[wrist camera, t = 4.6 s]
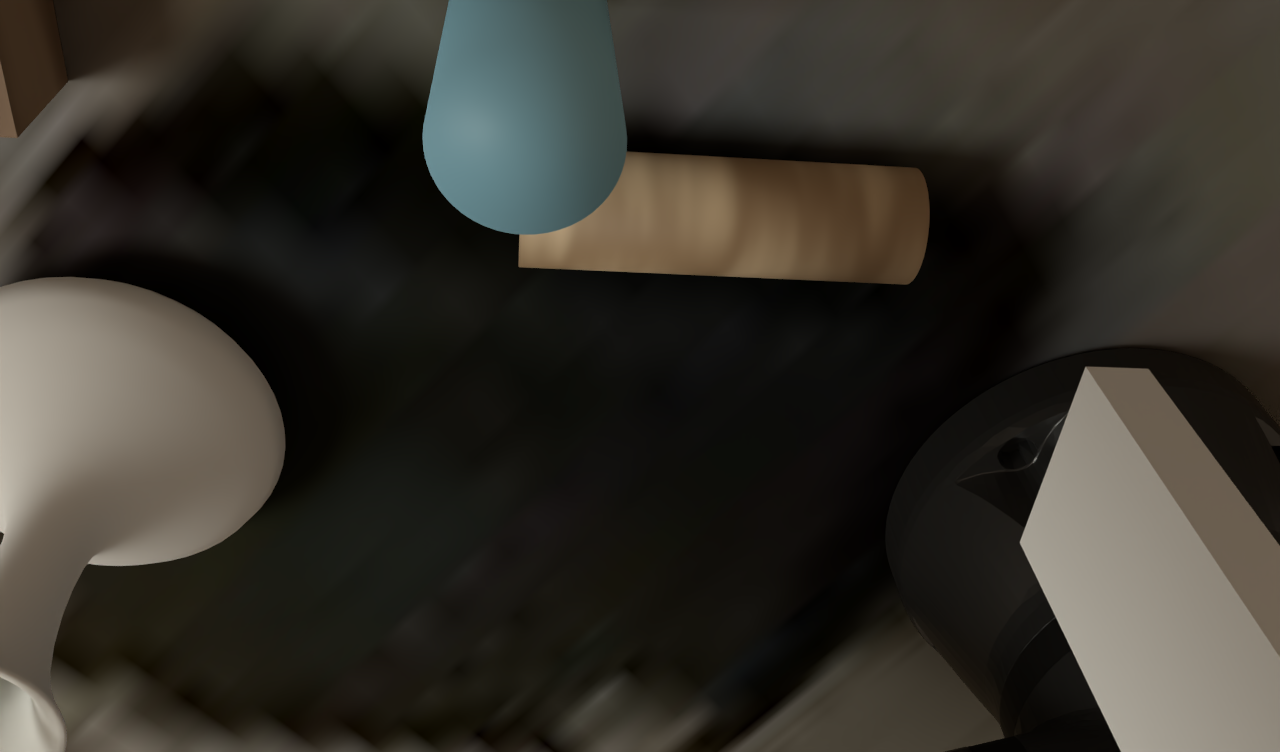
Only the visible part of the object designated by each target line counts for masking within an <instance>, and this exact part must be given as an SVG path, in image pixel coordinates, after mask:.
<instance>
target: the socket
mask: <svg viewBox="0 0 1280 752" xmlns="http://www.w3.org/2000/svg"><path fill="white" fill-rule="evenodd" d="M67 82H68V78H67V73H66V67H65V62H64V57H63V52H62V46H61V41H60V36H59V31H58V25H57V20H56V15H55V10H54V4H53V0H0V137H10V138H18V137H19V136H20V134H21V133H22V132H23V131H24V130H25V129H26V128H27V127H28V125H29V124H30V123H31V122H32V121H33V120H34V119H35V118H36V117H37V115H38V114H39V113H40V112H41V111H42V110H43V109H44V108H45V107H46V105H47V104H48V103H49V102H50V101H51V100H52V99H53V98H54V97H55V95H56V94H57V93H58V92H59V91H60V90H61V89H62V88H63V87H64V85H65V84H66V83H67Z"/></svg>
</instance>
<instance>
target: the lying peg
mask: <svg viewBox="0 0 1280 752" xmlns="http://www.w3.org/2000/svg"><path fill="white" fill-rule="evenodd" d="M929 217H930V209H929V195H928V189H927V185H926V181H925V178H924V176H923V174H922V172H921V171H920V170H919V169H917V168H911V167H893V166H875V165H858V164H840V163H822V162H804V161H786V160H769V159H751V158H733V157H715V156H698V155H680V154H662V153H644V152H626V158H625V163H624V167H623V170H622V173H621V175H620V178H619V180H618V182H617V184H616V186H615V187H614V189H613V190H612V192H611V194H610V195H609V196H608V197H607V199H606V200H605V201H604V202H603V203H602V204H601V205H600V206H599V207H598V208H597V209H596V210H595V211H594V212H593V213H591V214H590V215H588V216H587V217H585V218H584V219H583V220H581V221H579V222H577V223H575V224H573V225H571V226H569V227H566V228H563V229H561V230H557V231H553V232H549V233H543V234H535V235H521V234H520V235H519V267H528V268H551V269H573V270H595V271H617V272H640V273H662V274H684V275H707V276H729V277H751V278H773V279H796V280H818V281H840V282H863V283H885V284H909V283H910V282H912V281H913V280H914V278H915V277H916V275H917V273H918V271H919V269H920V267H921V264H922V261H923V258H924V254H925V250H926V245H927V240H928V232H929Z"/></svg>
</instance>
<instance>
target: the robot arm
mask: <svg viewBox="0 0 1280 752" xmlns="http://www.w3.org/2000/svg"><path fill="white" fill-rule="evenodd" d="M885 543H886V552H887V558H888V562H889V565H890V569H891V571H892V574H893V577H894V580H895V583H896V586H897V589H898V591H899V594H900V597H901V600H902V603H903V605H904V607H905V610H906V612H907V614H908V615H909V617H910V619H911V621H912V623H913V624H914V626H915V627H916V629H917V630H918V632H919V633H920V634H921V636H922V637H923V638H924V639H925V640H926V641H927V642H928V643H929V644H930V645H931V646H932V647H933V648H934V649H935V650H936V651H937V652H938V653H940V654H941V655H942V657H943V658H944V659H945V660H946V661H947V663H948V664H949V665H950V666H951V667H952V669H953V670H954V671H955V672H956V674H957V675H958V676H959V677H960V678H961V680H962V681H963V682H964V683H965V684H966V685H967V687H968V688H969V689H970V690H971V691H972V693H973V694H974V695H975V696H976V697H977V698H978V699H979V701H980V702H981V703H982V704H983V705H984V706H985V707H986V708H987V710H988V711H989V712H990V713H991V714H992V715H993V716H994V718H995V719H996V720H997V721H998V722H999V724H1000V727H1001V729H1002V731H1003V734H1004V736H1005V738H1004V739H1000V740H995V741H991V742H987V743H983V744H978V745H974V746H968V747H962V748H958V749H954V750H949V751H945V752H1280V427H1279V426H1278V425H1277V424H1276V422H1275V421H1274V420H1273V419H1272V418H1271V416H1270V415H1269V414H1268V413H1267V412H1266V410H1265V409H1264V408H1263V407H1262V406H1261V405H1260V403H1259V402H1258V401H1257V400H1256V399H1255V397H1254V396H1253V395H1252V394H1251V393H1250V392H1249V390H1248V389H1246V388H1245V387H1244V386H1243V385H1242V384H1241V383H1240V382H1239V381H1238V380H1236V379H1235V378H1234V377H1232V376H1231V375H1230V374H1228V373H1226V372H1225V371H1223V370H1222V369H1220V368H1218V367H1216V366H1214V365H1212V364H1210V363H1207V362H1205V361H1202V360H1200V359H1197V358H1194V357H1191V356H1187V355H1184V354H1179V353H1175V352H1170V351H1163V350H1155V349H1135V348H1126V349H1110V350H1102V351H1094V352H1088V353H1083V354H1078V355H1073V356H1069V357H1065V358H1061V359H1058V360H1055V361H1051V362H1048V363H1045V364H1042V365H1040V366H1037V367H1034V368H1031V369H1029V370H1027V371H1024V372H1022V373H1020V374H1017V375H1015V376H1013V377H1011V378H1009V379H1007V380H1005V381H1003V382H1001V383H999V384H998V385H996V386H994V387H992V388H990V389H989V390H987V391H985V392H984V393H982V394H981V395H979V396H978V397H976V398H974V399H973V400H972V401H970V402H969V403H968V404H966V405H965V406H963V407H962V408H961V409H959V410H958V411H957V412H956V413H955V414H953V415H952V416H951V417H950V418H949V419H947V420H946V421H945V422H944V423H943V424H942V425H941V426H940V427H939V428H938V429H937V430H936V431H935V432H934V433H933V434H932V435H931V436H930V437H929V438H928V439H927V441H926V442H925V443H924V444H923V445H922V447H921V448H920V449H919V450H918V452H917V453H916V454H915V456H914V457H913V458H912V460H911V461H910V463H909V465H908V466H907V468H906V469H905V471H904V473H903V475H902V477H901V478H900V480H899V482H898V484H897V487H896V489H895V492H894V494H893V497H892V500H891V503H890V506H889V511H888V515H887V521H886V530H885Z"/></svg>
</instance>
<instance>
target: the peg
mask: <svg viewBox="0 0 1280 752" xmlns="http://www.w3.org/2000/svg"><path fill="white" fill-rule="evenodd" d="M423 149H424V154H425V159H426V163H427V166H428V168H429V171H430V174H431V176H432V178H433V180H434V182H435V183H436V185H437V187H438V188H439V190H440V191H441V192H442V194H443V195H444V196H445V198H446V199H447V200H448V201H449V202H450V203H451V204H452V205H453V206H454V207H455V208H457V209H458V210H459V211H460V212H461V213H463V214H464V215H466V216H467V217H469V218H470V219H472V220H473V221H475V222H477V223H479V224H481V225H483V226H486V227H489V228H491V229H494V230H497V231H502V232H506V233H512V234H521V235H535V234H543V233H549V232H553V231H557V230H561V229H563V228H566V227H569V226H571V225H573V224H575V223H577V222H579V221H581V220H583V219H584V218H585V217H587V216H588V215H590V214H591V213H593V212H594V211H595V210H596V209H597V208H598V207H599V206H600V205H601V204H602V203H603V202H604V201H605V200H606V199H607V197H608V196H609V195H610V194H611V192H612V190H613V189H614V187H615V186H616V184H617V182H618V180H619V178H620V175H621V173H622V170H623V167H624V163H625V158H626V152H627V132H626V124H625V118H624V111H623V104H622V98H621V91H620V85H619V78H618V71H617V65H616V58H615V51H614V45H613V38H612V32H611V25H610V18H609V12H608V5H607V0H449V3H448V8H447V13H446V18H445V23H444V27H443V32H442V37H441V42H440V47H439V52H438V57H437V62H436V67H435V71H434V76H433V81H432V86H431V91H430V96H429V101H428V106H427V111H426V115H425V120H424V125H423Z"/></svg>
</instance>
